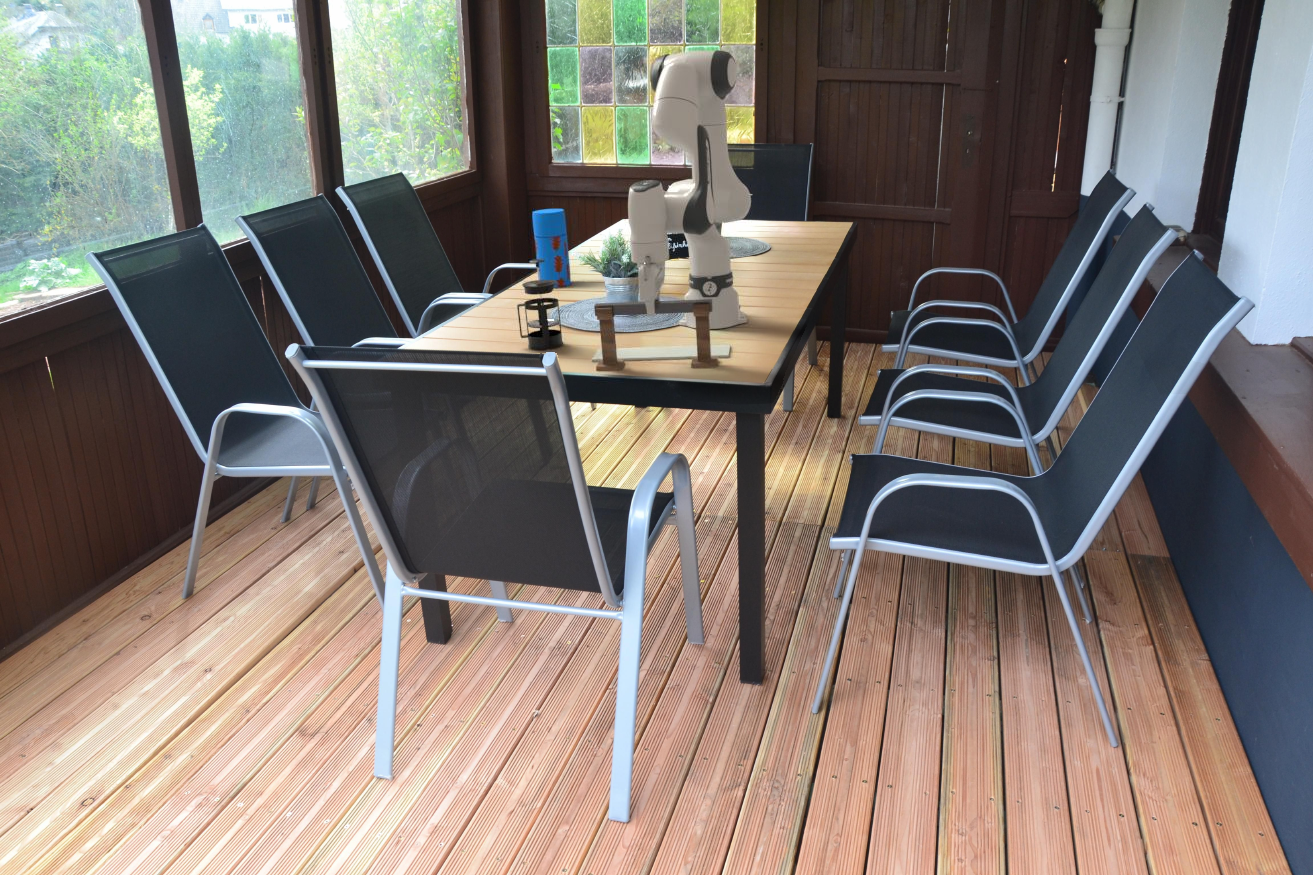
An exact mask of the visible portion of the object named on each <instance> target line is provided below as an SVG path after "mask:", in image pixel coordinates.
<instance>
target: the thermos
mask: <svg viewBox="0 0 1313 875" xmlns="http://www.w3.org/2000/svg"><path fill="white" fill-rule="evenodd" d="M532 227H533V234H534V236H533V237H534V246H535V255H536V259H543V260H545V261H544V262H541V263H539V267H538V268H539V277H540V280H555V281H556V282H557V283H556V284H555V286H554V289H558V288H559V289H560V288H564V287H565V288H566V287H569V286H570V285H571V284H572V282H571V267H570V264H571V263H570V254H569V245H568V244H569V243H568V234H567V222H566V213H565V210H564V209H563V208H546V209H539V210H538V209H537V210H535V211H532Z"/></svg>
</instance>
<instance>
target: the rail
mask: <svg viewBox="0 0 1313 875" xmlns="http://www.w3.org/2000/svg"><path fill="white" fill-rule="evenodd" d="M697 304H709V312H712V311H713V300H712V299H701V300H685V299H678V300H660V301H654V305H655V315H659V314H660V315H663V314H685V313H693V305H697ZM593 307H594V316H595V317H597V312H596V309H597V308H612V315H615V316H632V315H634V316H637V315H647V309H646V305H645V301H629V302H628V301H627V302H602V303H601V302H600V303H599V302H598V303H595V304H594V306H593Z"/></svg>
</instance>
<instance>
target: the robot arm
mask: <svg viewBox="0 0 1313 875" xmlns="http://www.w3.org/2000/svg"><path fill="white" fill-rule="evenodd" d="M649 72H650V73H649V81H650V85H651V88H652V91H653V92H654V98H653V99H654V100H653V105H652V111H651V127H652V130H653V131H654V133H655V135H656V136H657V137H658V138H659V139H660V140H661V141H663V142H664V143H665V144H667V145H668V146H671V147H673V148H675V149H679V150H681V151H684V154H685V156H686V159H687V160H688V161H689V162H690V163H691V178H688V179H687V178H686V179H683V180H678V181H675V182H673V183H672V184H671V185H670V186H669V187H668V189H667V190H666V191H665V190H664V189H663V185H662V183H661V181H658V180H656V179H647V180H646V179H645V180H641V181H637V182H634V183H633V184H632V185H630V187H629V191H628V199H627V200H628V201H627V211H628V212H627V214H628V218H627V219H628V224H629V227H630V238H629V243H630V256H631V257H630V259H631V262H632V263H634V264H636V265H637V269H638V295H639V300H640V301H641V302H645V305H646V309H647V314H646V315H647V317H655V315H656V314H655V305H654V301H661V300H660V299H661V298H660V297H661V289H662V287H663V285H664V283H665V275H666V262H667V261H668V260H669V259H670V249H669V237H668V234H683V236H684V237H685V239H686V243H687V247H688V249H687V250H688V256H689V257H688V258H689V271H690V272H689V274H688V282H689V287H690V288H689V290H688V292H686V294H685V295H684V300H701V299H712V300H713V311H712V312H710V314H709V325H710V330H715V329H724V328H731V327H734V326H736V325H740V324H745V323H747V322H748V318H747V317H746V316H745V314H744V313H743V311H742V310H741V304H740V302H739V301H740V299H739V292H738V291H737V290H736V289H735V288H734V287H733V285H734V276H733V271H732V269H731V267H732V266H731V265H732V264H731V262H732V261H731V246H730V243H729V241H728V240H727V239H726V237H724V236H723V235H722V234H721V233H720V232H719V230H718V229H717V227H716V225H715V223H722V224H727V223H732V222H733V223H734V222H738V221H741V220H743V219H745V217H746V216H747V215H748V214H749V211H750V209H751V204H752V197H751V194H750V191H749V189H748V187H747V186H746V185H745V184H744V183H743V182H742V181H741V180H740V179H739V177H738V176H737V174H736V173H735V170H734V169H733V166H732V164H731V161H730V156H729V149H728V130H727V129H728V128H727V126H728V125H727V122H728V121H727V109H726V102H725V101H726V100H725V99H726V98H727V95H729V94H730V93H731V92H732V90H733V89H734V88H735V85H736V83H737V82H736V81H737V77H738V76H737V75H738V69H737V65H736V60H735V58H734V57H733V55H732V53H730V52H729V51H725V50H719V49H718V50H717V49H716V50H715V51H714V50H691V51H685V52H677V53H673V54H669V53H666V54H665V53H664V54H662V55H659V56H657V57H656V58H655V59H654V60H653V61H652V63H651V65H650V69H649ZM667 233H668V234H667ZM678 326H684V327H686V326H687V327H689V328H692V329H696V318H695V316H694V313H684V316H683V317H682V318H681V319H680V320H679V322H678Z"/></svg>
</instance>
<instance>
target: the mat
mask: <svg viewBox="0 0 1313 875" xmlns="http://www.w3.org/2000/svg"><path fill="white" fill-rule="evenodd" d="M710 346H711V356H718V359H722V358H724V359H725V358H727V359H728V358H729V357H730V351H731V344H710ZM616 352H617V359H624V362H625V361H629V362H630V361H654V360H655V361H660V360H689V359H690V360H692V359H693V357H697V345H679V346H678V345H675V346H673V345H671V346H643V347H642V346H641V347H640V346H639V347H638V346H637V347H616ZM600 360H603V357H602V348H598V349H597V350H596V352H594V355H593V356H592V358H591V362H596V363H597V362H599V361H600Z"/></svg>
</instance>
